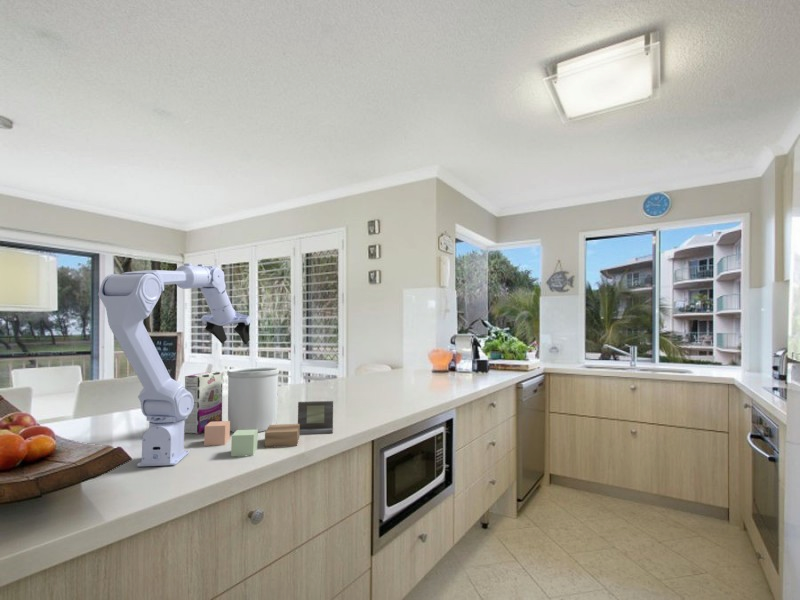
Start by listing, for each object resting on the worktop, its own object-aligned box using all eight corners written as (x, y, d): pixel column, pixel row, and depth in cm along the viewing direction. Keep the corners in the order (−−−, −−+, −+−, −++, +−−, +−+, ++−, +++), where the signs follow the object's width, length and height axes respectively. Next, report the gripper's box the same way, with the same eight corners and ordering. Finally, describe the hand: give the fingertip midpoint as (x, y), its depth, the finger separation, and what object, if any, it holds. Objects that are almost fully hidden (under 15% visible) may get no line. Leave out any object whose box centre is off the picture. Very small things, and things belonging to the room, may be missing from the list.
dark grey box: (332, 433, 118) (333, 403, 119) (296, 434, 117) (297, 404, 117) (332, 428, 124) (333, 399, 124) (298, 429, 122) (299, 400, 123)
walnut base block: (297, 447, 106) (297, 431, 106) (264, 448, 105) (265, 432, 105) (299, 438, 114) (299, 423, 114) (269, 439, 112) (269, 424, 113)
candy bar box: (208, 424, 128) (209, 370, 129) (222, 424, 127) (223, 371, 128) (182, 433, 117) (184, 375, 118) (197, 434, 116) (199, 375, 117)
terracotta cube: (224, 445, 106) (225, 425, 107) (204, 446, 106) (204, 426, 106) (229, 439, 111) (230, 421, 112) (210, 440, 111) (210, 421, 111)
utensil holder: (217, 427, 124) (219, 368, 125) (263, 419, 135) (265, 365, 136) (238, 437, 114) (240, 373, 115) (287, 427, 124) (288, 369, 125)
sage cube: (253, 456, 98) (253, 434, 98) (231, 457, 97) (231, 435, 98) (257, 449, 103) (257, 429, 103) (236, 450, 102) (236, 430, 102)
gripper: (249, 296, 118) (263, 333, 125) (204, 296, 121) (221, 332, 128) (237, 311, 112) (252, 349, 119) (190, 310, 115) (208, 347, 122)
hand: (235, 341), depth 123 cm, fingers open, 7 cm apart
